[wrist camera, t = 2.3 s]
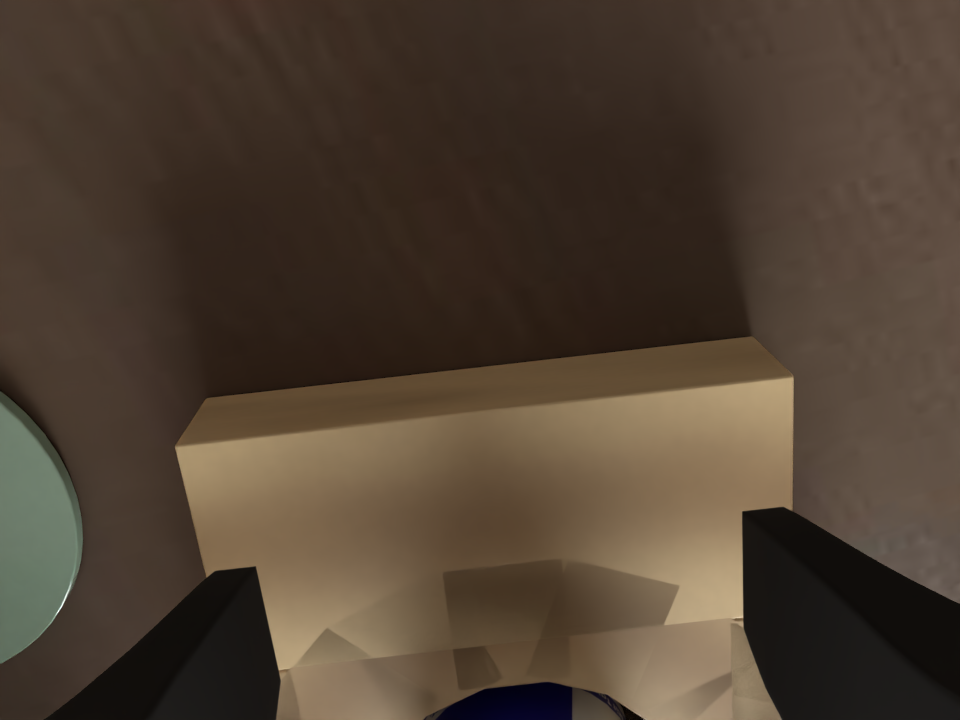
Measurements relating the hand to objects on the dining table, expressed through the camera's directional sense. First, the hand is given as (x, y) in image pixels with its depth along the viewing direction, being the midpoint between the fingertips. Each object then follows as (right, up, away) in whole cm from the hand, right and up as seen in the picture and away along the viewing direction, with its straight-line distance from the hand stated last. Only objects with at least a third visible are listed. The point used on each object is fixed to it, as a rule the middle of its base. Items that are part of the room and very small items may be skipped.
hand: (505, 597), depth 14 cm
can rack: (0, -4, +9) cm, 10 cm away
